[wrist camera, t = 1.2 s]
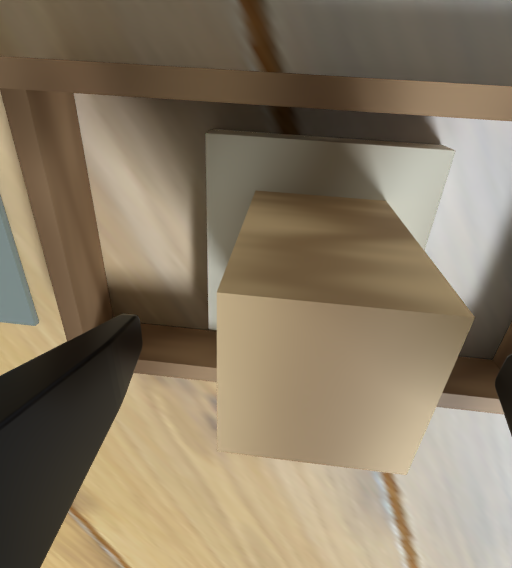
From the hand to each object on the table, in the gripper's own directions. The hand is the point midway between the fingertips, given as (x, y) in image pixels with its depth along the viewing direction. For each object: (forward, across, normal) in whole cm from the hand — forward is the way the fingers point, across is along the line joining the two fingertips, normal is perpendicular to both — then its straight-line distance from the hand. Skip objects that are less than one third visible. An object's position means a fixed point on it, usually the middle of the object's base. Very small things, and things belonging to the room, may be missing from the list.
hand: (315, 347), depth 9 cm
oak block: (+5, 0, 0) cm, 5 cm away
